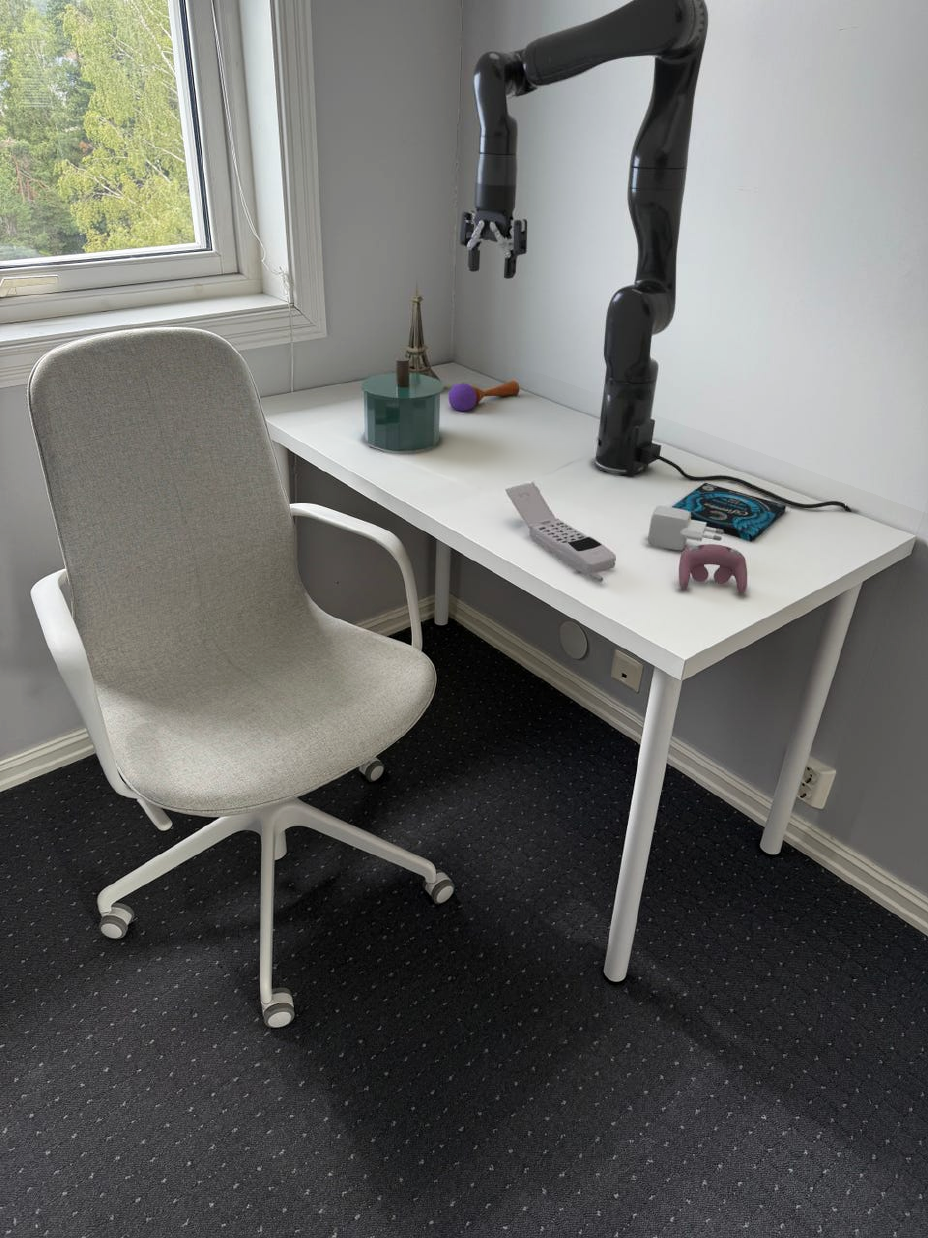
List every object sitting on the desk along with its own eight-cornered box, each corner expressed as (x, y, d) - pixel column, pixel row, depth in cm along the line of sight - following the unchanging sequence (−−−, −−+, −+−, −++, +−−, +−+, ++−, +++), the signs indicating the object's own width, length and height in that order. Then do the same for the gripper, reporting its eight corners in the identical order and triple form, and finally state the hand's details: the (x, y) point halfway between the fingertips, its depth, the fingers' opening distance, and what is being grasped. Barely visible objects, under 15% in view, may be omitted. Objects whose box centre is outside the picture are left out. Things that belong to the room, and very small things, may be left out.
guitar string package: (786, 505, 157) (753, 534, 147) (784, 512, 158) (752, 541, 148) (705, 482, 165) (668, 508, 154) (704, 489, 166) (667, 515, 155)
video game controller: (741, 593, 136) (745, 546, 135) (748, 595, 131) (753, 546, 131) (674, 588, 136) (678, 541, 136) (679, 589, 132) (683, 541, 131)
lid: (460, 391, 177) (461, 359, 173) (403, 410, 166) (403, 376, 163) (401, 373, 185) (402, 342, 182) (344, 390, 175) (343, 357, 172)
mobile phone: (532, 481, 151) (631, 540, 132) (530, 513, 154) (626, 576, 136) (502, 488, 148) (598, 550, 130) (500, 521, 151) (594, 586, 133)
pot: (454, 440, 182) (456, 388, 176) (402, 459, 172) (402, 405, 167) (401, 422, 190) (401, 371, 184) (349, 439, 180) (348, 387, 174)
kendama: (526, 381, 204) (465, 392, 191) (519, 405, 207) (459, 418, 194) (507, 370, 207) (446, 380, 193) (501, 394, 210) (440, 406, 197)
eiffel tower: (422, 400, 202) (423, 282, 189) (383, 391, 207) (382, 275, 194) (447, 389, 210) (450, 275, 197) (409, 380, 214) (410, 268, 201)
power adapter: (720, 548, 145) (727, 514, 142) (716, 561, 141) (723, 527, 138) (651, 534, 148) (656, 501, 145) (645, 547, 145) (650, 513, 141)
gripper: (539, 183, 164) (532, 278, 172) (479, 175, 172) (475, 266, 180) (514, 186, 159) (508, 283, 167) (452, 177, 167) (450, 270, 175)
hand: (491, 274), depth 174 cm, fingers open, 8 cm apart
